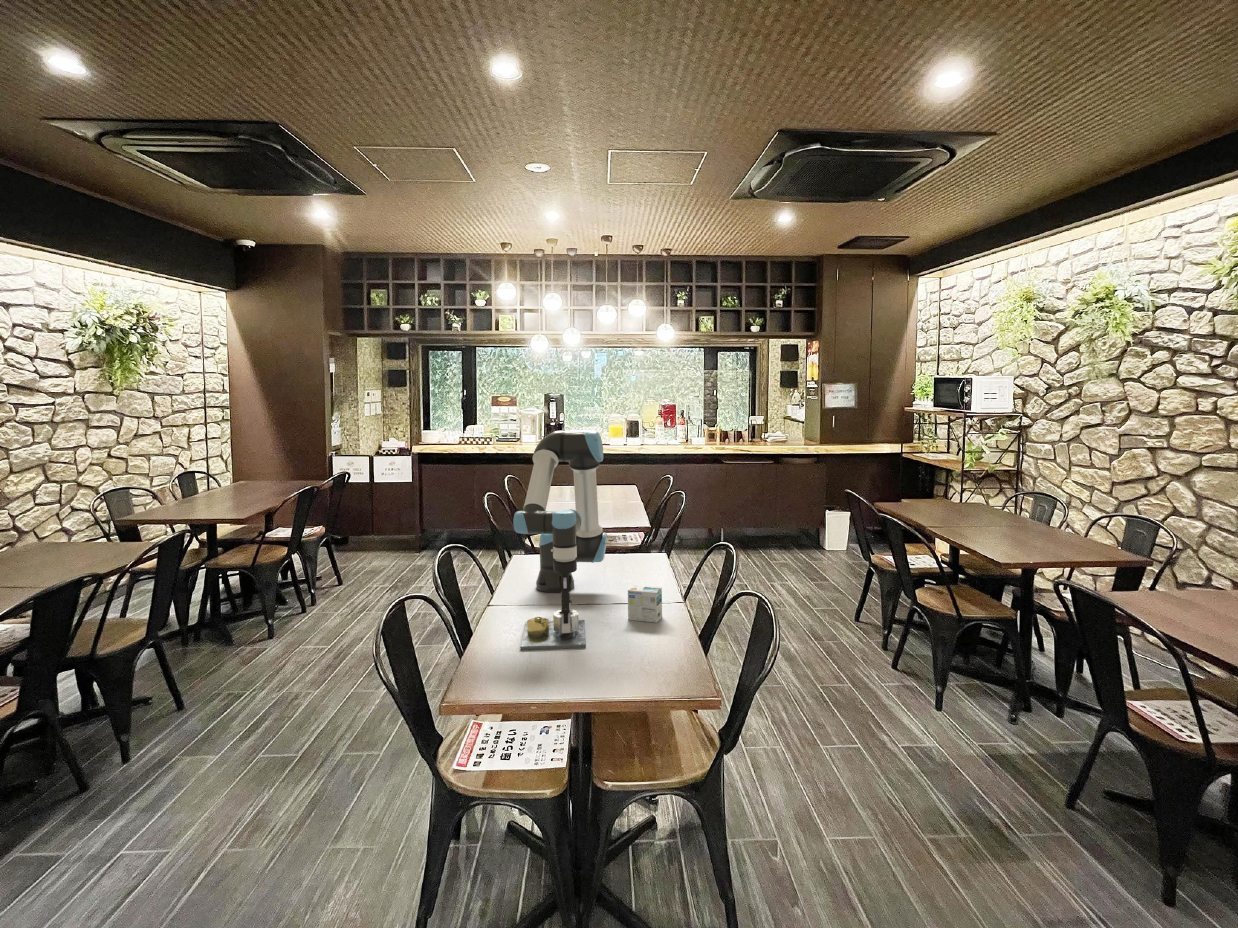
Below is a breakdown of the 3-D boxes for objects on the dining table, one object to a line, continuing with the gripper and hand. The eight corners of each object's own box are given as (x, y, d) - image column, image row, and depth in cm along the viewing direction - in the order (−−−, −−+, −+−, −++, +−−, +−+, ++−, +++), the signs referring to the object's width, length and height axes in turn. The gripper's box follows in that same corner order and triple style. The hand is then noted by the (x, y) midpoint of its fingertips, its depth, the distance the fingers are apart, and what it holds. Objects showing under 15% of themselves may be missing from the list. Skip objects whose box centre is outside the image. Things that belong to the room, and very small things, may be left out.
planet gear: (554, 624, 230) (553, 609, 230) (578, 623, 231) (578, 609, 230) (553, 633, 222) (553, 617, 222) (578, 632, 223) (578, 617, 222)
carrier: (525, 625, 237) (524, 607, 236) (584, 623, 238) (584, 605, 237) (520, 650, 215) (519, 630, 214) (585, 647, 216) (585, 628, 216)
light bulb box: (662, 616, 244) (662, 586, 242) (657, 623, 237) (657, 592, 236) (633, 613, 247) (633, 584, 246) (627, 620, 241) (627, 589, 240)
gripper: (553, 551, 234) (555, 617, 237) (552, 567, 213) (553, 639, 216) (576, 550, 234) (577, 616, 237) (576, 567, 214) (578, 638, 216)
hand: (566, 627), depth 226 cm, fingers closed on planet gear, 8 cm apart
